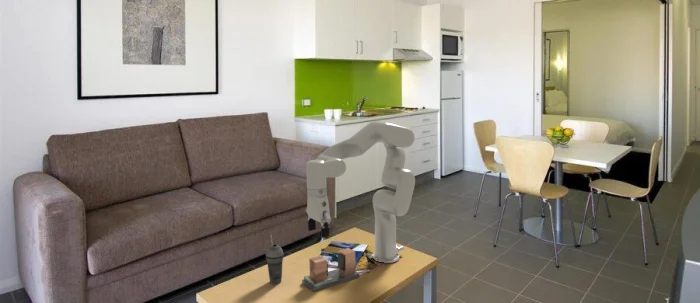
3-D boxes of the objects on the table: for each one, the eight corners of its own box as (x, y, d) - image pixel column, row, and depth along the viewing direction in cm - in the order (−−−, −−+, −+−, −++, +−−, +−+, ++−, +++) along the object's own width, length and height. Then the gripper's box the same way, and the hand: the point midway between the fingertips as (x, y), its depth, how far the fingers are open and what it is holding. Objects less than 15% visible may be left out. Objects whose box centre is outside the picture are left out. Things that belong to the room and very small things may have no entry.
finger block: (328, 280, 183) (328, 259, 182) (316, 284, 180) (315, 262, 178) (322, 276, 187) (321, 255, 186) (309, 279, 184) (309, 258, 183)
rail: (346, 269, 197) (346, 246, 195) (359, 276, 190) (359, 252, 188) (302, 283, 184) (301, 258, 183) (313, 291, 177) (312, 266, 175)
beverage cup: (281, 286, 182) (279, 238, 178) (263, 285, 183) (261, 237, 180) (287, 278, 189) (285, 232, 185) (270, 277, 190) (268, 231, 187)
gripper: (337, 194, 174) (338, 237, 177) (313, 185, 188) (315, 225, 191) (320, 198, 170) (322, 241, 173) (297, 188, 183) (299, 229, 187)
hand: (318, 233), depth 182 cm, fingers open, 9 cm apart
